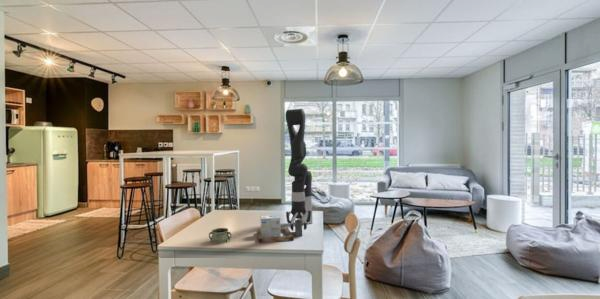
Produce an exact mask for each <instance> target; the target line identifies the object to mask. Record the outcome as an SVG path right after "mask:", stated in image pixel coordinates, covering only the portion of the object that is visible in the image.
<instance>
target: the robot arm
mask: <svg viewBox="0 0 600 299" xmlns="http://www.w3.org/2000/svg"><path fill="white" fill-rule="evenodd" d="M285 120H286V126H287V130H288V135H289V144H290V152H291V154H290V162H289V165H288V169H287V172H288V174H289V176H290V177H293V179H294V180H293V181H292V182H291V197H290V198H291V201H290V202H291V210H290V211H286V212H285V216H286V222H287V223H288V224H290V225H289V226H290V231H292V232H294V223H295V220H301V221H302V225H303V230H304V231H305V230H307V228H308V226H307V225H308V224H309V225H310V224H313V206H312V180H313V175H312V172H311V171H309V170H308V169H309V168H308V166H307V164H306V163H303V161H304V160H305V158H306V156H307V145H306V142H305V129H306V128H305V127H306V113H305V110H304V109H303V108H293V109H288V110H286V111H285ZM294 126H299V128H298V131H296V128H295V127H294ZM291 215H292V217H291V219H290V216H291Z"/></svg>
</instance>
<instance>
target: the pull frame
mask: <svg viewBox="0 0 600 299" xmlns="http://www.w3.org/2000/svg"><path fill="white" fill-rule="evenodd" d="M280 232H281V233H285V234H286V235H283V236H280V237H265V238H262V234H261V228H260V229H256V235H257V236H256V237H257V242H258V244H262V243H263V244H265V243H278V242H290V241H291V242H292V241H293V242H294V237H297V238H298V237H303V224H302V221H301V220H297V219H295V220H294V231H292V232H291V229H289V227H280Z"/></svg>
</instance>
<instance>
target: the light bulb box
mask: <svg viewBox="0 0 600 299" xmlns="http://www.w3.org/2000/svg"><path fill="white" fill-rule="evenodd" d="M280 228H281V216H280V215H279V214H277V215H261V216H260V229H261V234H262V238H265V237H280V236H281V232H280Z"/></svg>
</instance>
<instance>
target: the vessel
mask: <svg viewBox="0 0 600 299" xmlns="http://www.w3.org/2000/svg"><path fill="white" fill-rule="evenodd" d="M208 237H209V240H210V241H211V242H212V243H213V244H216V245H221V244H226V243H227V242H228V241H231V238H232V237H233V236H232V232H231V231H229V229H228V228H226V227H217V228H214V229H212V230H211V231H210V232H209V234H208Z"/></svg>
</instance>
